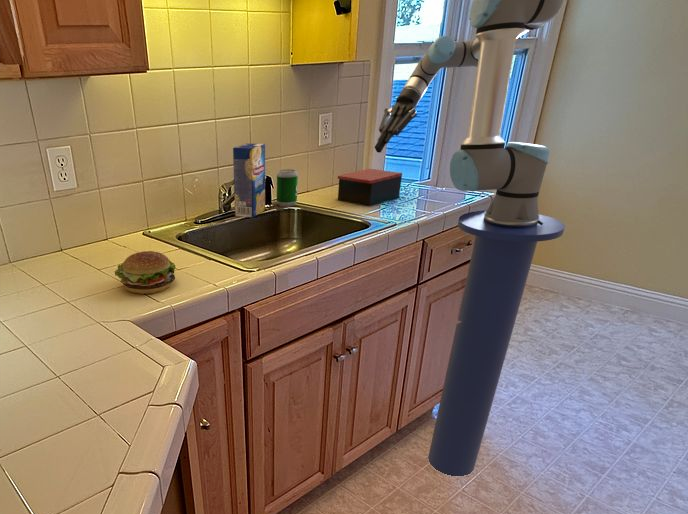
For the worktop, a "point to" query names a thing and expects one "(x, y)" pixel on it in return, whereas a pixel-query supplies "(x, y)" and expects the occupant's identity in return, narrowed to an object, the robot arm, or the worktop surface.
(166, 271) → the food
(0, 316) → the worktop surface
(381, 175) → the lid
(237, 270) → the worktop surface
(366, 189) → the black open box
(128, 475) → the worktop surface
